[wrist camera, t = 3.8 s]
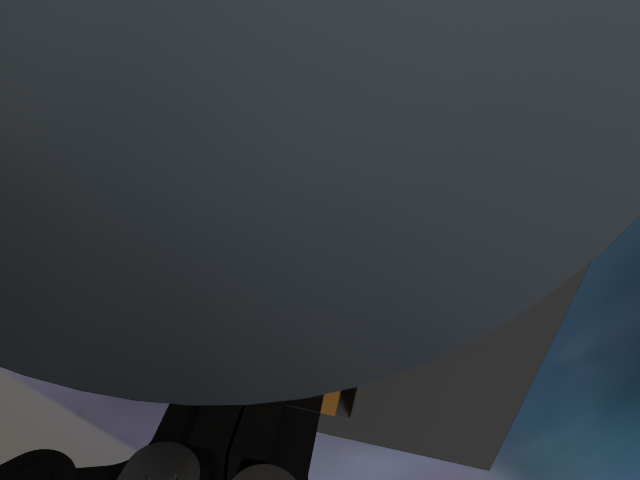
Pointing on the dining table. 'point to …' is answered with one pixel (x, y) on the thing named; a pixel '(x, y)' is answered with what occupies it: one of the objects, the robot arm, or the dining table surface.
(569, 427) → the dining table surface
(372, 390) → the block
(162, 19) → the cylinder
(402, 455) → the dining table surface
